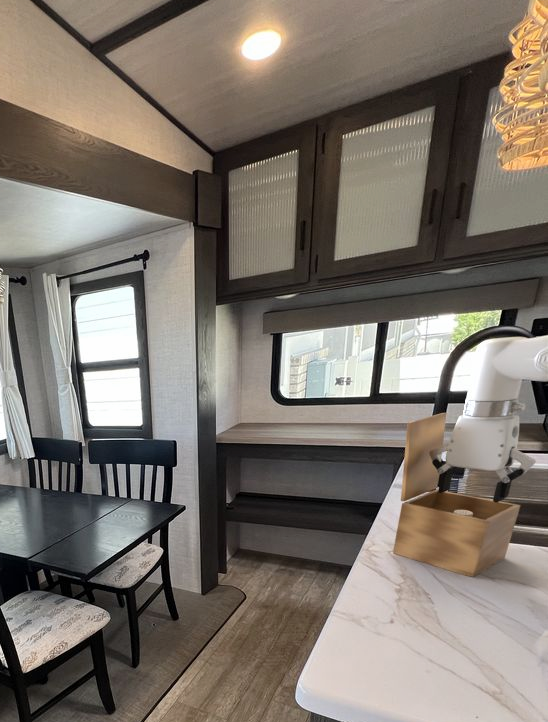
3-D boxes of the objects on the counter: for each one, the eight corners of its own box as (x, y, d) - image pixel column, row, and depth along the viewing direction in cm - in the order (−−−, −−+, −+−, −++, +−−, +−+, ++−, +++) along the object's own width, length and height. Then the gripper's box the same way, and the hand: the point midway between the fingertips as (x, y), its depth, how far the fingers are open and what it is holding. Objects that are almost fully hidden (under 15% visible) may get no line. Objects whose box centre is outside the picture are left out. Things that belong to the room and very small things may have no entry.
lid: (446, 412, 100) (442, 412, 101) (411, 422, 94) (407, 422, 95) (438, 487, 105) (434, 487, 106) (404, 501, 100) (400, 501, 100)
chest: (504, 558, 98) (520, 505, 94) (472, 577, 92) (487, 521, 88) (425, 537, 111) (435, 489, 106) (392, 553, 105) (402, 503, 100)
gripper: (557, 408, 83) (531, 500, 89) (448, 404, 97) (433, 484, 103) (538, 414, 79) (513, 509, 86) (428, 410, 93) (414, 492, 100)
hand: (469, 495), depth 95 cm, fingers open, 9 cm apart
